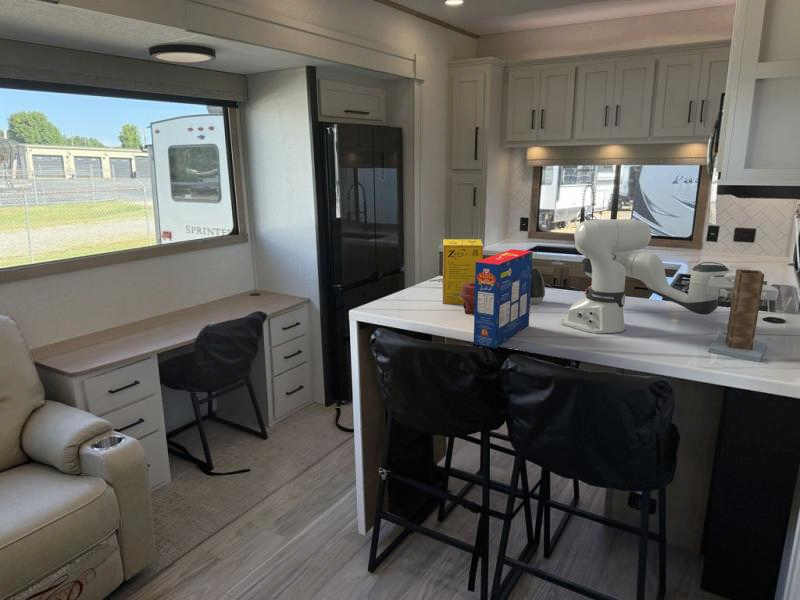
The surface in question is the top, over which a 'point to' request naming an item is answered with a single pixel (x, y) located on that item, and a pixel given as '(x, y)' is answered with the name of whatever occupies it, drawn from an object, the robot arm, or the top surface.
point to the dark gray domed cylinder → (536, 287)
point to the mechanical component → (468, 297)
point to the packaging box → (459, 266)
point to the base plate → (722, 349)
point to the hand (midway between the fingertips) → (745, 296)
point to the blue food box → (502, 297)
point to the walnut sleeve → (744, 309)
